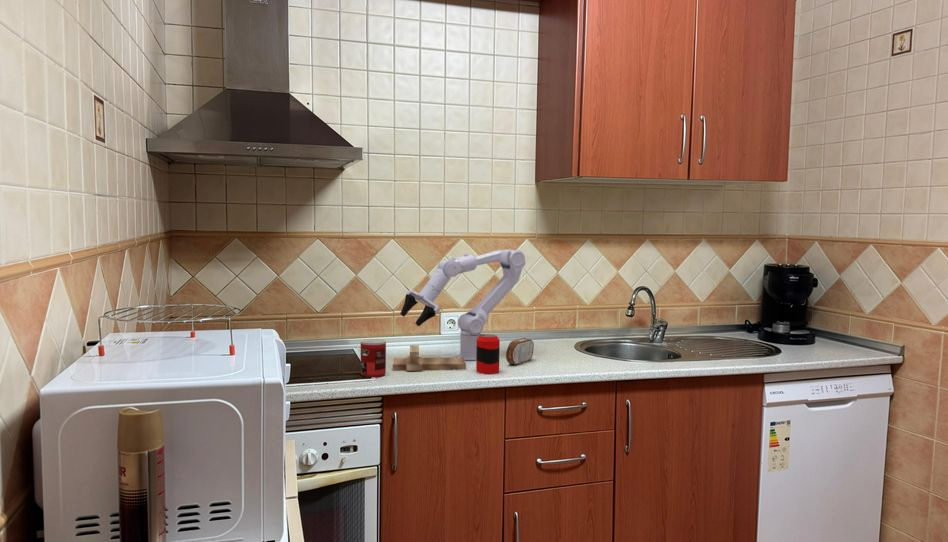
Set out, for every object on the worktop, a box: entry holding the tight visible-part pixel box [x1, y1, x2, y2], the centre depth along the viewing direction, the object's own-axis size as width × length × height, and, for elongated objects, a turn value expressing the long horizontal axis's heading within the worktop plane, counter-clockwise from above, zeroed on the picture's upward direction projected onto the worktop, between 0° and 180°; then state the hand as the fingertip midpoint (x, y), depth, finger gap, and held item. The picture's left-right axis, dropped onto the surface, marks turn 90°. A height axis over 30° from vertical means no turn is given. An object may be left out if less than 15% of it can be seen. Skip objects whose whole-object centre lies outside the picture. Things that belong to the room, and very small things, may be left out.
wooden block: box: [406, 344, 423, 372], centre depth 216 cm, size 5×12×6 cm, turn 5°
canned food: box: [360, 338, 387, 378], centre depth 205 cm, size 8×8×11 cm
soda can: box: [475, 333, 501, 375], centre depth 211 cm, size 8×8×12 cm
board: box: [392, 357, 467, 371], centre depth 217 cm, size 24×10×2 cm, turn 95°
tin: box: [505, 337, 535, 366], centre depth 225 cm, size 15×3×8 cm, turn 145°
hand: (409, 320), depth 221 cm, fingers open, 7 cm apart
